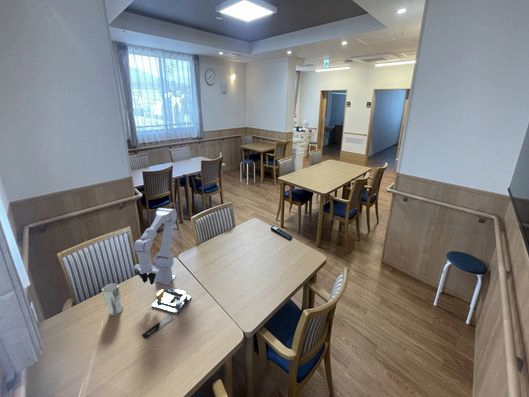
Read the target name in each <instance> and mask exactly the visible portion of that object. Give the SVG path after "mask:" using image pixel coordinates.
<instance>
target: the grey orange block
mask: <svg viewBox="0 0 529 397" xmlns="http://www.w3.org/2000/svg"><path fill="white" fill-rule="evenodd" d="M164 292H165V291H164V289H161V290H158V292H157V293H156V300H161V301H164V302H168V303H171V302H172V301H173V299H174V298H175V297H174V296H172V295H168V294H164Z"/></svg>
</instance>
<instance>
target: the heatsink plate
mask: <svg viewBox="0 0 529 397" xmlns="http://www.w3.org/2000/svg"><path fill="white" fill-rule="evenodd" d="M163 292H164V294H168V295H172V296H174V297H175V298H174V299H173V301H172V302H171V303H168V302H164V301H161V300H157V299H156V300H155V301H154V302H153V303H152V304H151V308H152V309H153V308H154V309H156V310H159V311H163V312H167V313H171V314H174V315H177V316H178V315H180V313H181V312H182V311H183V309H184V308H185V306H187V304H188V303H189V302H190V301H191V299H192V296H190V295H188V294H187V292H186V291H184V290H180V289H177V288H173V287H169V288H168V289H165V290H164V291H163Z"/></svg>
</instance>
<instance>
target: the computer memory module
mask: <svg viewBox="0 0 529 397" xmlns="http://www.w3.org/2000/svg"><path fill="white" fill-rule="evenodd" d="M173 320H174V317H173V316H172V315H171V314H169V315H167V316H166V317H165V318H163V319H162V320H160V321H159V322H157V323H156V324H155V325H153V326H151V328H149V329H148V330H146V331H144V333H142V334H141V336H142V338H144V339H146V340H147V339H148V338H150V337H152V336H153V335H154V334H155V333H156V332H158V331H159V330H161V329H162V328H163V327H165V326H166V325H167V324H169V323H170V322H172V321H173Z"/></svg>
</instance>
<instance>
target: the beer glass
mask: <svg viewBox="0 0 529 397" xmlns="http://www.w3.org/2000/svg"><path fill="white" fill-rule="evenodd" d="M101 291H102V295H103V299H104V301H105V304H106V305H107V306H108V310H109V314H110V316H116V315H119V314H121V312H123V310H124V306H123V304H122V303H121V291H120V287H119V286H118V284H117V283H116V282H115V283H114V282H111V283H108V284H106V285H104V286H103V287H102V290H101Z"/></svg>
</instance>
